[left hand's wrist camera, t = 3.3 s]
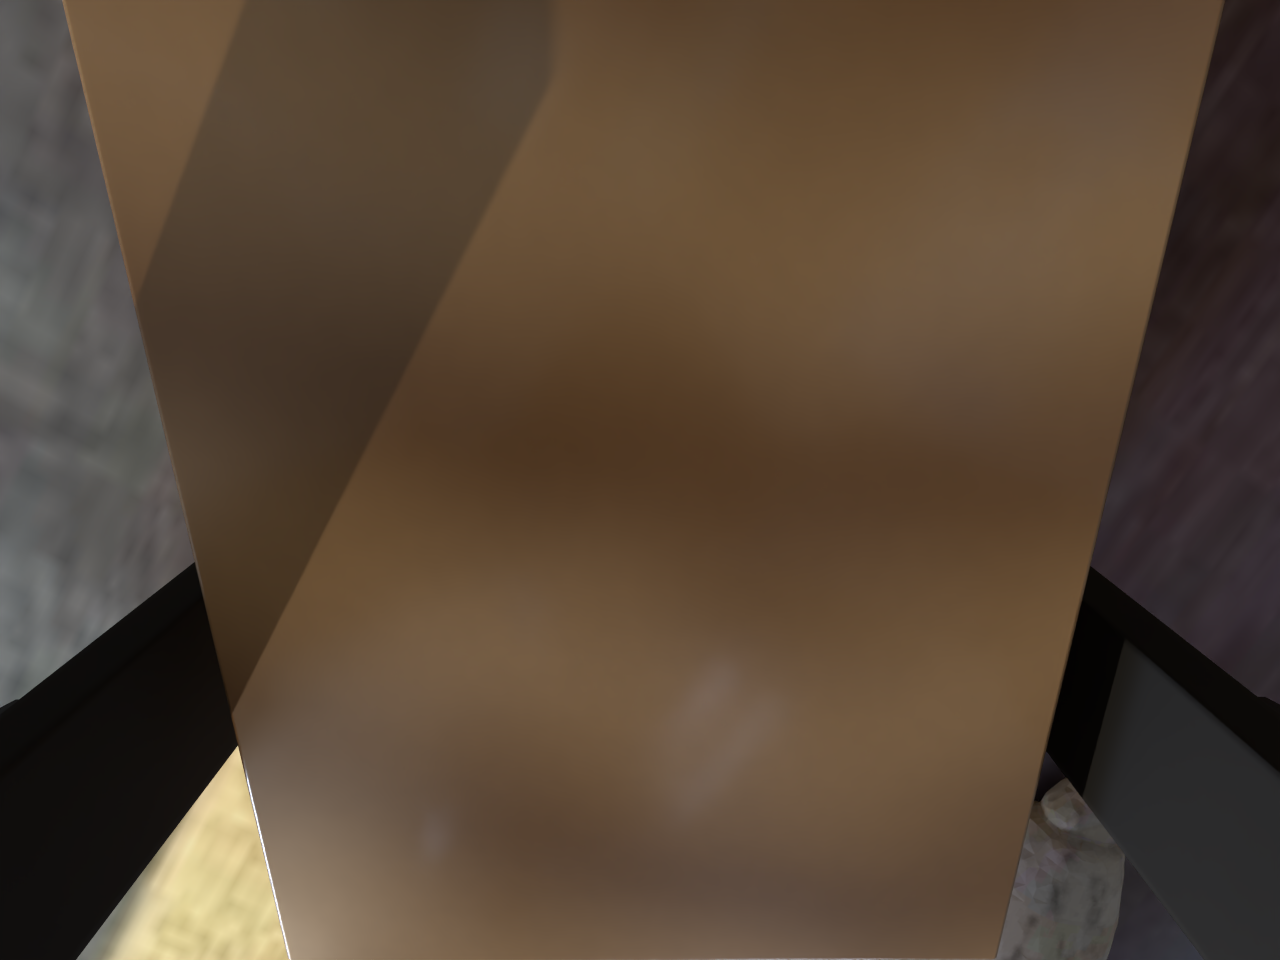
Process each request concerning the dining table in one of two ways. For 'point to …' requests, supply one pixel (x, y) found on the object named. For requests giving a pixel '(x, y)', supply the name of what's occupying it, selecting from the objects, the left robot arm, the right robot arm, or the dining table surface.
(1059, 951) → the decorative stone
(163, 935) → the dining table surface
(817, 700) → the cabinet
